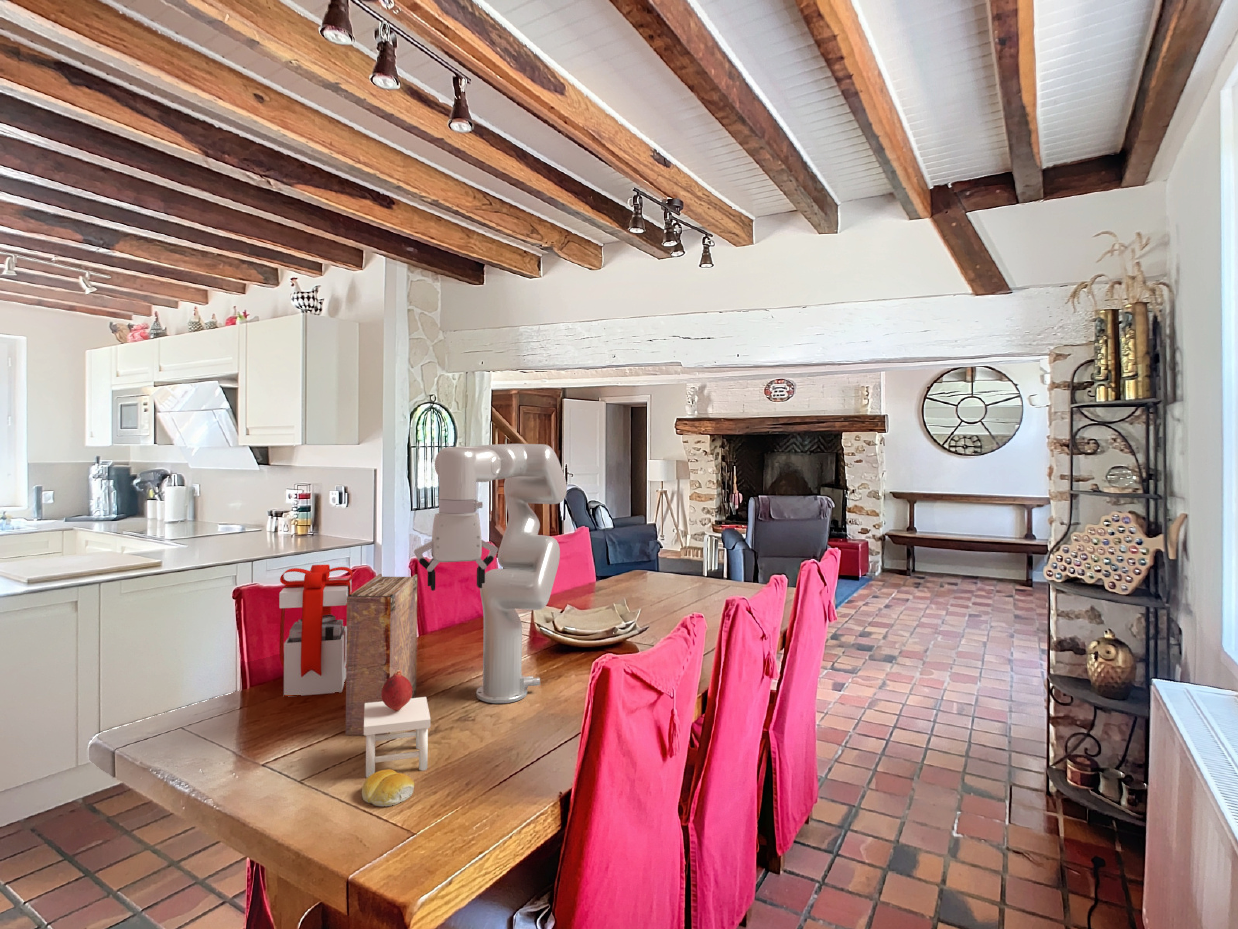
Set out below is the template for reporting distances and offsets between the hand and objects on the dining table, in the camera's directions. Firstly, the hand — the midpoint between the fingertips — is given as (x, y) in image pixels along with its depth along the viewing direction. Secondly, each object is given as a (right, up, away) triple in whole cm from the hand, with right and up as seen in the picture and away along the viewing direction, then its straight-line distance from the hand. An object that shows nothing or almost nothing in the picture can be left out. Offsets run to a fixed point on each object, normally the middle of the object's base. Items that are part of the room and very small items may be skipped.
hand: (456, 588), depth 144 cm
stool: (-10, -32, -10) cm, 35 cm away
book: (-20, -32, +14) cm, 40 cm away
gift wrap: (-43, -31, +30) cm, 61 cm away
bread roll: (-7, -33, -22) cm, 41 cm away
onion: (-9, -23, -10) cm, 26 cm away
